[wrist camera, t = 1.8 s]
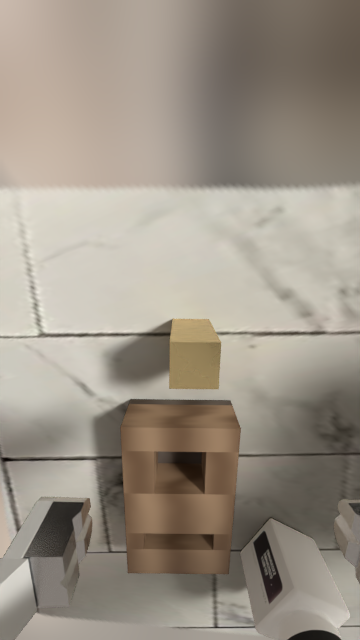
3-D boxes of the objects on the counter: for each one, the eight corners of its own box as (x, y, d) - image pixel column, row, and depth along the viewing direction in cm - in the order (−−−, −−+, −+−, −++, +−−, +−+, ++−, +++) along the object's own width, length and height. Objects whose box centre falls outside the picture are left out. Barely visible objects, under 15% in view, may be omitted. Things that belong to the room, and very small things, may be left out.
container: (238, 551, 34) (272, 722, 21) (269, 515, 32) (326, 676, 20) (281, 571, 35) (339, 746, 22) (314, 537, 33) (396, 704, 21)
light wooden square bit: (208, 319, 26) (221, 342, 18) (207, 353, 27) (218, 389, 19) (172, 318, 26) (169, 341, 18) (172, 352, 27) (169, 388, 19)
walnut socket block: (230, 400, 28) (240, 428, 23) (221, 528, 33) (228, 574, 28) (130, 399, 28) (120, 427, 23) (135, 527, 33) (127, 572, 28)
